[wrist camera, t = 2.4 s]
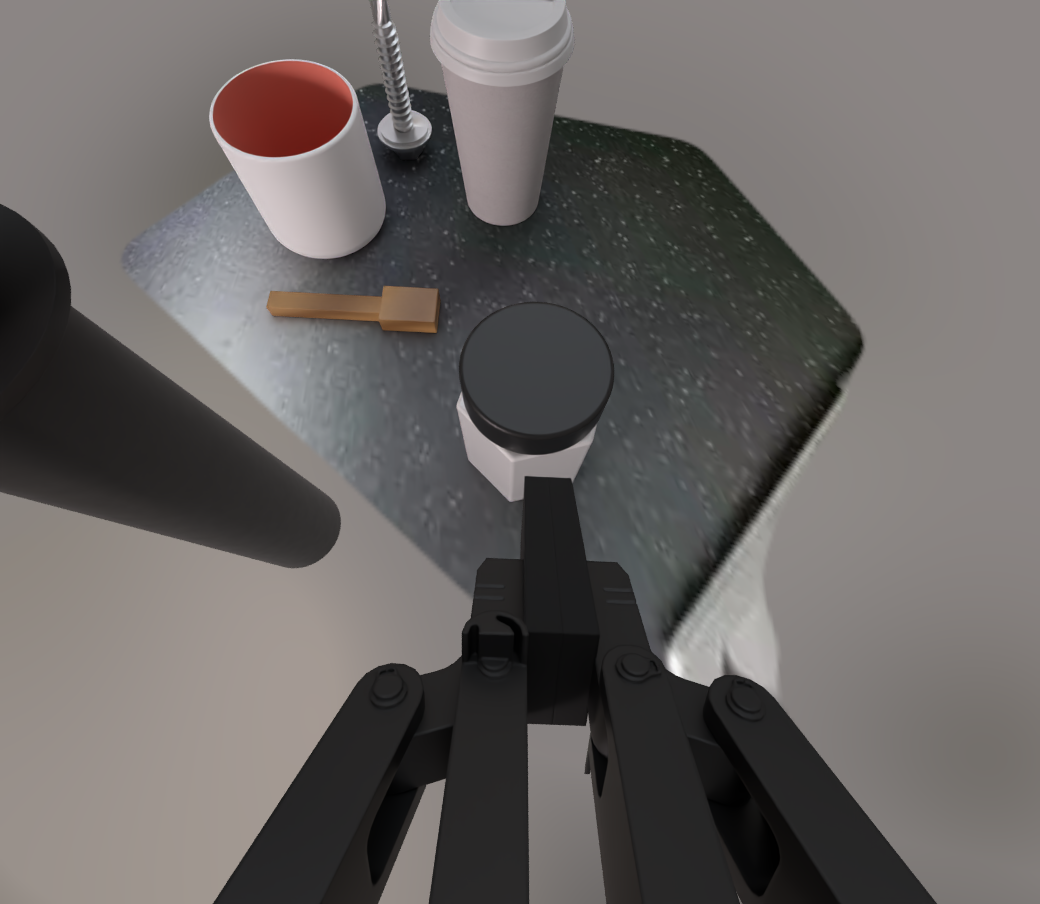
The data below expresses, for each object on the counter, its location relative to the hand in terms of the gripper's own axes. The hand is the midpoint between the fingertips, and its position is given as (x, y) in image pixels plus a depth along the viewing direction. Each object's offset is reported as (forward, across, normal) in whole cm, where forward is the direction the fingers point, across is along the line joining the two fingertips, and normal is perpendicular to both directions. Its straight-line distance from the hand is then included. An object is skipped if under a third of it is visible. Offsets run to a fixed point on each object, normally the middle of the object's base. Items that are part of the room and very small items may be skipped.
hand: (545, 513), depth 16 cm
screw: (+40, -12, +14) cm, 44 cm away
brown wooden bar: (+27, -14, +1) cm, 31 cm away
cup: (+34, -18, +8) cm, 39 cm away
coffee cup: (+37, -3, +10) cm, 38 cm away
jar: (+20, 0, -7) cm, 21 cm away
